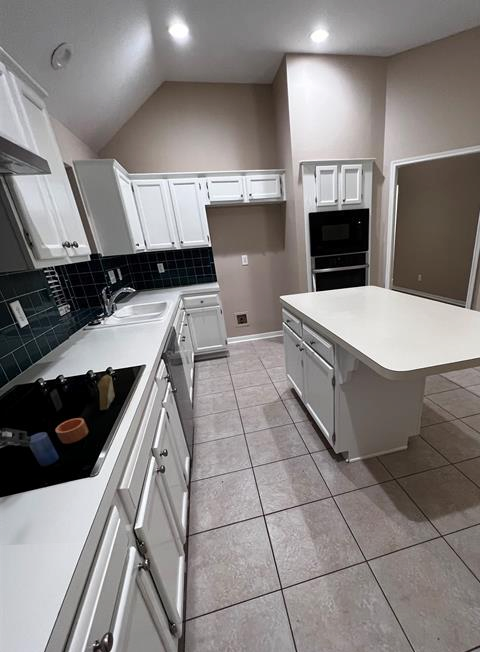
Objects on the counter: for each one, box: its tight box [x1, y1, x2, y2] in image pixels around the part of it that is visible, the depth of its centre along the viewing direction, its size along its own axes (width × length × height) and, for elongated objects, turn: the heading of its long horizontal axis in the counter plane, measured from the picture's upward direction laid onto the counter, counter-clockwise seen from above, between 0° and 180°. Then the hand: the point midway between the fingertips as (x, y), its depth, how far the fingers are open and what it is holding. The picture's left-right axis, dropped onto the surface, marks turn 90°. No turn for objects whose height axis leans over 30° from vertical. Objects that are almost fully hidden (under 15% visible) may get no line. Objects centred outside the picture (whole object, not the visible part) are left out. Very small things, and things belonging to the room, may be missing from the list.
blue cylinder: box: [28, 431, 60, 467], centre depth 85 cm, size 4×4×8 cm
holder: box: [55, 417, 89, 445], centre depth 95 cm, size 7×7×4 cm
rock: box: [97, 374, 116, 411], centre depth 111 cm, size 11×9×10 cm
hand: (9, 445), depth 74 cm, fingers open, 8 cm apart
